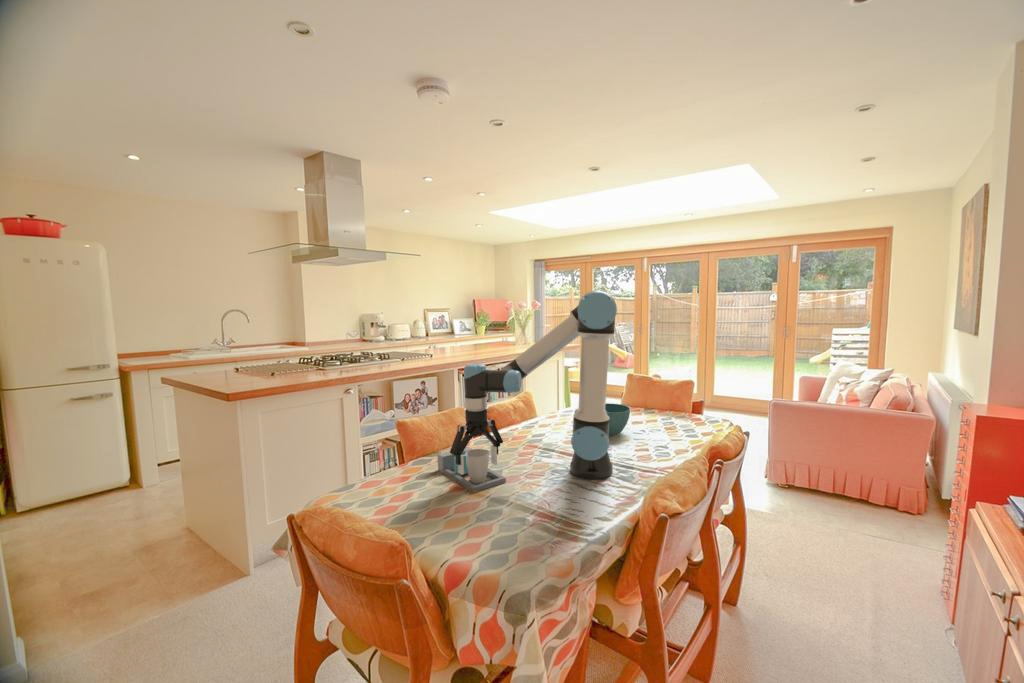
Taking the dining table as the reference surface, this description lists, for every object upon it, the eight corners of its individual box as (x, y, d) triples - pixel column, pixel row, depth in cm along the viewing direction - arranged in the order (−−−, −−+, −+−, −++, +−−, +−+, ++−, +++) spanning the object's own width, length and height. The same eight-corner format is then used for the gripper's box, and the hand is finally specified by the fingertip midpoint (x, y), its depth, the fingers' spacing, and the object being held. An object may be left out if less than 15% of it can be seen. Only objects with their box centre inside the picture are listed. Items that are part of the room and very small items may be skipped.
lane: (505, 482, 150) (505, 465, 150) (473, 492, 143) (473, 474, 142) (468, 461, 171) (467, 446, 170) (438, 469, 163) (437, 454, 163)
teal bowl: (599, 425, 215) (599, 401, 214) (635, 431, 205) (635, 405, 204) (583, 435, 201) (583, 409, 199) (621, 442, 190) (621, 414, 189)
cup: (493, 477, 154) (492, 450, 153) (482, 486, 147) (481, 458, 146) (473, 474, 158) (472, 447, 157) (462, 483, 150) (461, 455, 150)
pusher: (478, 470, 161) (478, 452, 161) (456, 476, 156) (455, 458, 155) (472, 466, 165) (471, 449, 164) (450, 472, 159) (449, 454, 159)
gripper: (499, 401, 161) (501, 457, 163) (438, 412, 146) (440, 474, 148) (511, 404, 155) (513, 462, 157) (449, 417, 140) (451, 481, 142)
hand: (478, 468), depth 152 cm, fingers open, 13 cm apart
